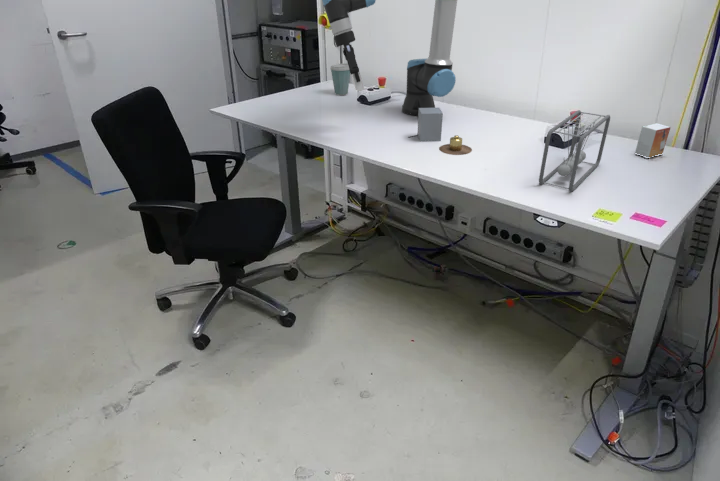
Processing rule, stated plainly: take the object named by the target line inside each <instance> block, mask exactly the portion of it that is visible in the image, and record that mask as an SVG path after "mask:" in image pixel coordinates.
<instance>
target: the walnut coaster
mask: <svg viewBox="0 0 720 481" xmlns="http://www.w3.org/2000/svg"><path fill="white" fill-rule="evenodd" d="M449 148H450V143H447V144H443V145H440V146H439V147H438V149H439V152H441V153H443V154H446V155H452V156H462V155H468V154H470V153H472V151H473V149H472V147H470V146H468V145H466V144H462V149H461V151H451V150H450V149H449Z"/></svg>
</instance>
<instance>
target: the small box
mask: <svg viewBox="0 0 720 481" xmlns="http://www.w3.org/2000/svg"><path fill="white" fill-rule="evenodd" d="M671 128H672V127H671V126H668V125H665V124H661V123H658V122H655V123H653V124H649V125H643V126H641V128H640V129H641V130H640V133H639V137H638V141H637V144H636V148H635V151H634V154H635V153H637V154H640V155H643V156H646V157H652V156H655V155H658V154H662V153H664V150H665V147H666V143H667V142H668V137H669V135H670V132H671V131H670V130H671ZM662 155H663V154H662Z"/></svg>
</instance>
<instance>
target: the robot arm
mask: <svg viewBox="0 0 720 481" xmlns="http://www.w3.org/2000/svg"><path fill="white" fill-rule="evenodd" d="M321 1H322V4H323V8H324V10H325V13H326V17H327V19H328V23H329V27H328V29H329V30H331V32H332V35H334V36H333V40H334V43H335V46H336V47H341V46H343V47H342V49H343V50H342V54H343V56H344V58H345V60H346V63H348V66H349V71H350V77H351V79H352V82H353V85H354V89H355V91H357V93H359V92H362V91H365V90H366V89H365V86H364V82H363V80H362V77H361V76H362V75H361V72H360V67H359V66H358V63H357V60H356V53H355V50H354V49H355V48H354V46H352V44H350V43H353V42H355V41H356V36H355V32H354V31H353V30H352V29H353V27H352V23H351V20H350V17H349V16H350V15H349V13H351V12H355V11H359V10H362V9H365V8H369V7H371V6H373V5H374V4H376V1H377V0H321ZM434 1H435V2H434V8H433V9H434V11H433V18H432V26H431V35H430V36H431V37H430V44H429V52H428V53H429V54H428V57H427V58H417V59H410V60H409V61H408V62H407V65H406V94H405V97H404V101H403V103H402V106H401V112H402V113H403V114H406V115H410V116H417V117H418V111H419V108H436V105H435V101H434V97H438V98H441V97H445V96H448V94H450V93H451V92H452V90H453V89H454V88H455V85H456V80H457V79H456V75H455V74H454V71H453V62H452V60H451V59H450V58H451V51H452V42H453V34H454V28H455V21H456V20H455V19H456V14H457V6H458V0H434Z"/></svg>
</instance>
